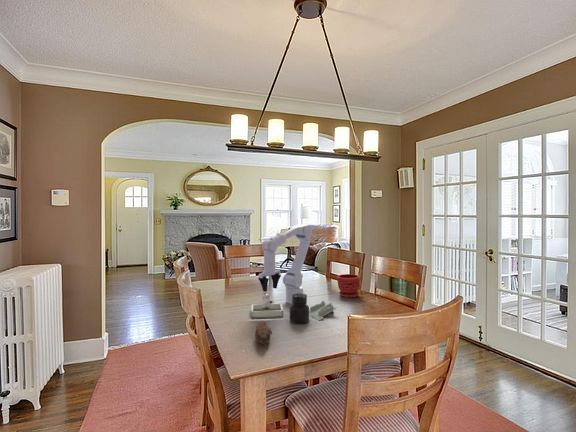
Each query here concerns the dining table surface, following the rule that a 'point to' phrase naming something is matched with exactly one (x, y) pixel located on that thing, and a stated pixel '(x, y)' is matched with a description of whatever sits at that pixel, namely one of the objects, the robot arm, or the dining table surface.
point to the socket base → (270, 302)
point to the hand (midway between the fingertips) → (269, 289)
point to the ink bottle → (299, 309)
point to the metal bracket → (321, 310)
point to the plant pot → (348, 285)
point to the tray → (267, 313)
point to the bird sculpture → (263, 333)
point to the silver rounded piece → (266, 302)
